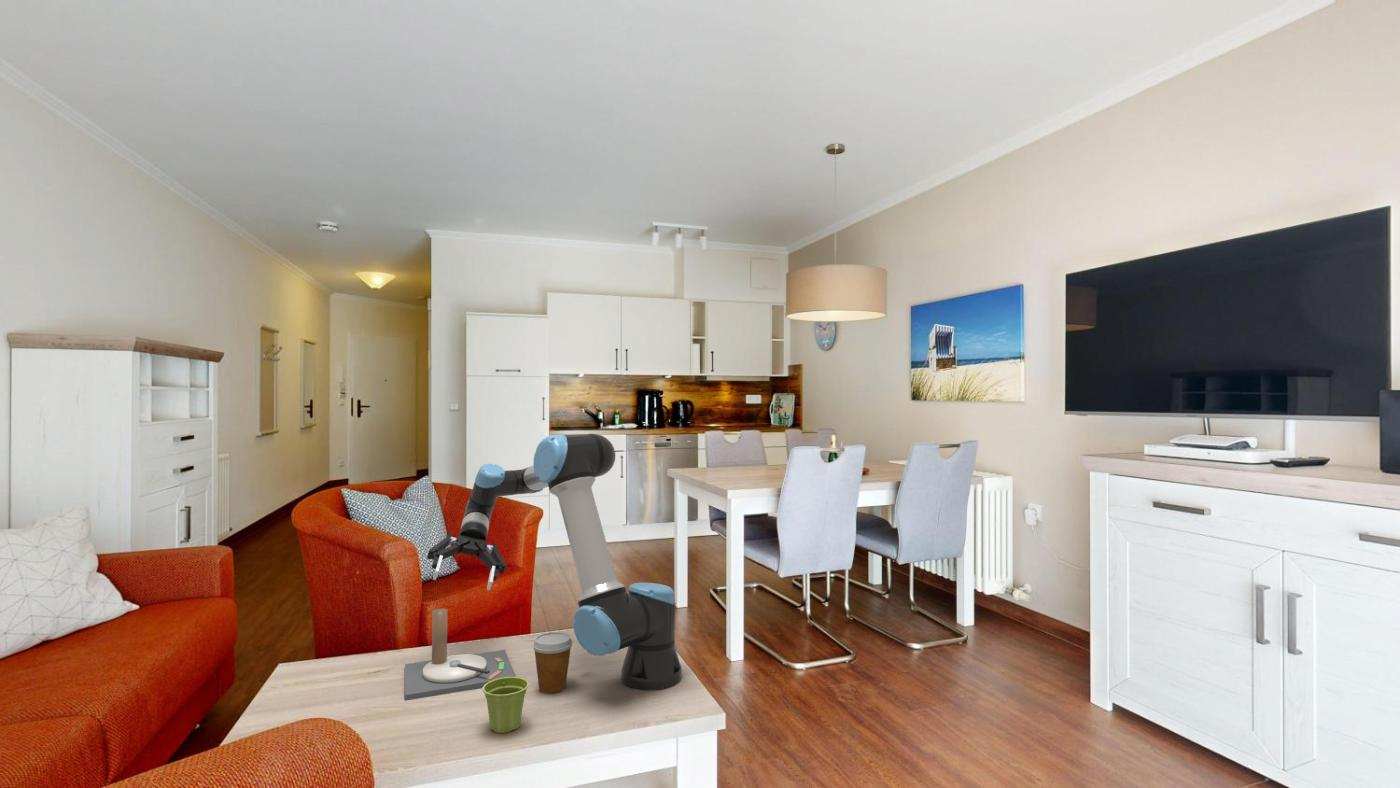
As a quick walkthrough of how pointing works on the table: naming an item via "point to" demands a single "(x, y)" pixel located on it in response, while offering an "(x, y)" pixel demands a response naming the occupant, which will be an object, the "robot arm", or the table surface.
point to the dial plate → (423, 688)
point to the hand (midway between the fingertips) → (463, 581)
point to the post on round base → (449, 666)
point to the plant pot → (505, 702)
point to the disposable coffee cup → (552, 660)
